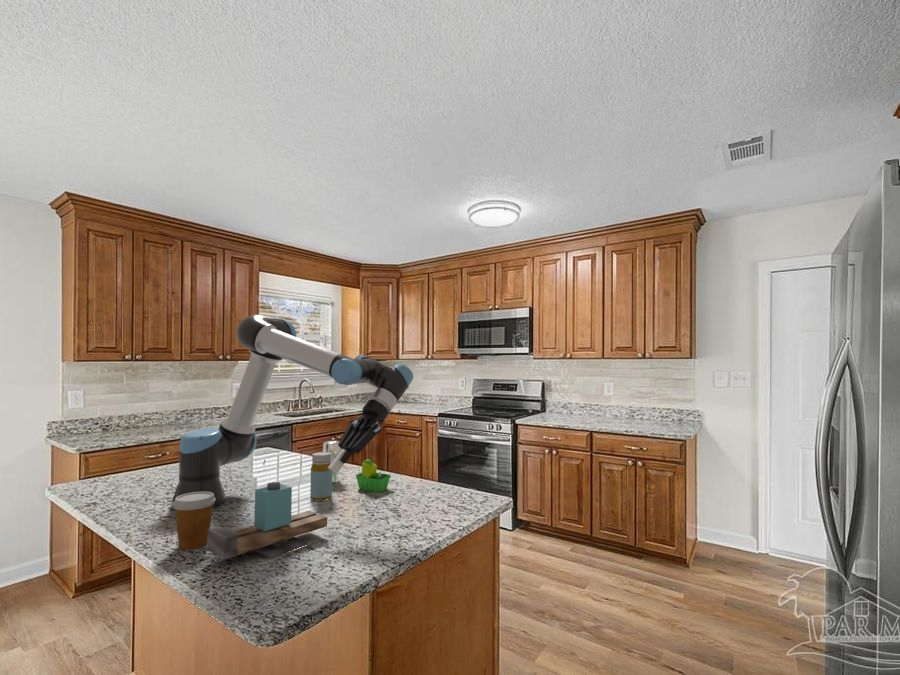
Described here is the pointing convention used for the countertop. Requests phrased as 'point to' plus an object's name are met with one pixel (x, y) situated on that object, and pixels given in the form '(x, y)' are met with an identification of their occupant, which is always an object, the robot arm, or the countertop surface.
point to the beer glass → (332, 454)
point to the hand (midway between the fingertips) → (332, 470)
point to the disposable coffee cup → (193, 518)
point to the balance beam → (264, 537)
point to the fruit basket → (372, 478)
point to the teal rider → (273, 506)
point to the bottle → (321, 476)
